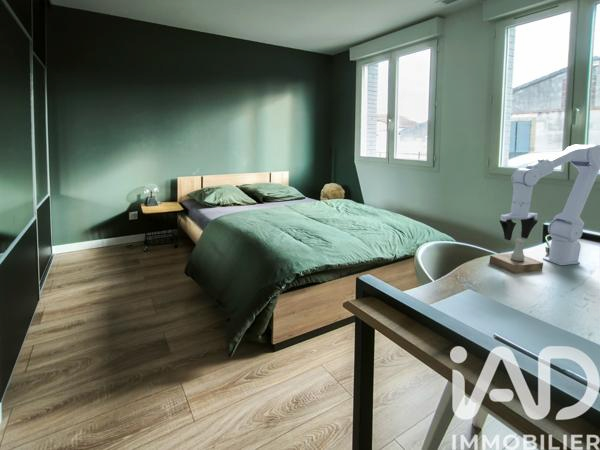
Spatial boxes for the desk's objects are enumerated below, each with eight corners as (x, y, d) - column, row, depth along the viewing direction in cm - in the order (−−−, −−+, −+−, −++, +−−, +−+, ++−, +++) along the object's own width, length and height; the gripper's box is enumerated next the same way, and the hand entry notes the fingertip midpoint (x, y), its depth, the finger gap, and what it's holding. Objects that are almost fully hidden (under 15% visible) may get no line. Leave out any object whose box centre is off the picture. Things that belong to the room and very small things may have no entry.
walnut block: (515, 260, 143) (516, 252, 142) (542, 270, 131) (543, 262, 131) (489, 262, 140) (490, 255, 139) (514, 274, 128) (515, 266, 128)
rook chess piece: (525, 262, 132) (528, 240, 130) (511, 260, 133) (514, 239, 131) (522, 258, 136) (525, 237, 134) (509, 257, 137) (512, 236, 135)
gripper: (513, 205, 125) (508, 243, 129) (547, 203, 129) (541, 240, 132) (497, 201, 132) (493, 238, 135) (530, 199, 136) (524, 235, 139)
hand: (515, 238), depth 134 cm, fingers open, 7 cm apart
